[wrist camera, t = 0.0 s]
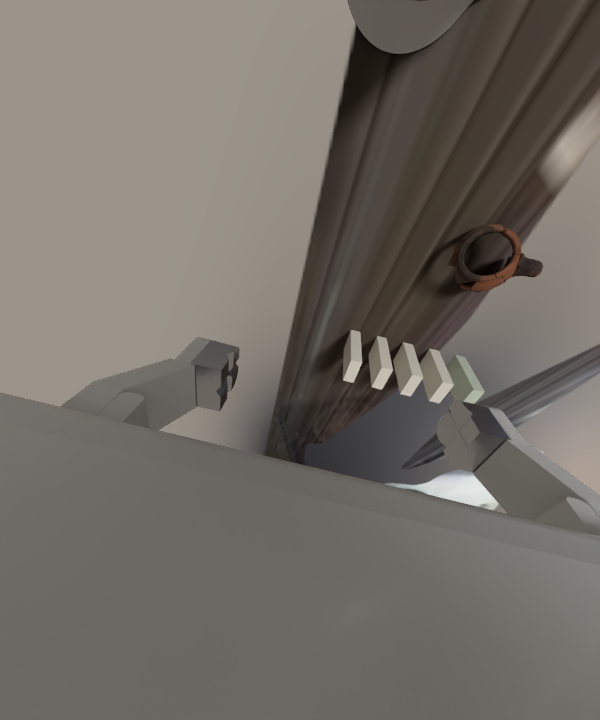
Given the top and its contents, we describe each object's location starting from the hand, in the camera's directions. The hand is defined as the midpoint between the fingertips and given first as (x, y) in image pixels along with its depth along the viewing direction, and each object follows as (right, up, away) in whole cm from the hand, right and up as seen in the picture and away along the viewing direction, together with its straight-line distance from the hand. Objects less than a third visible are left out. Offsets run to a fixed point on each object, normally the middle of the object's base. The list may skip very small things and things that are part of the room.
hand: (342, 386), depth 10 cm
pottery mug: (+28, +17, +32) cm, 45 cm away
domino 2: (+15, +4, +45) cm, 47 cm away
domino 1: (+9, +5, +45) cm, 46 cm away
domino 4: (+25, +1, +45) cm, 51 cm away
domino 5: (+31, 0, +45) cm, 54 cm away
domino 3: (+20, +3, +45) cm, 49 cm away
